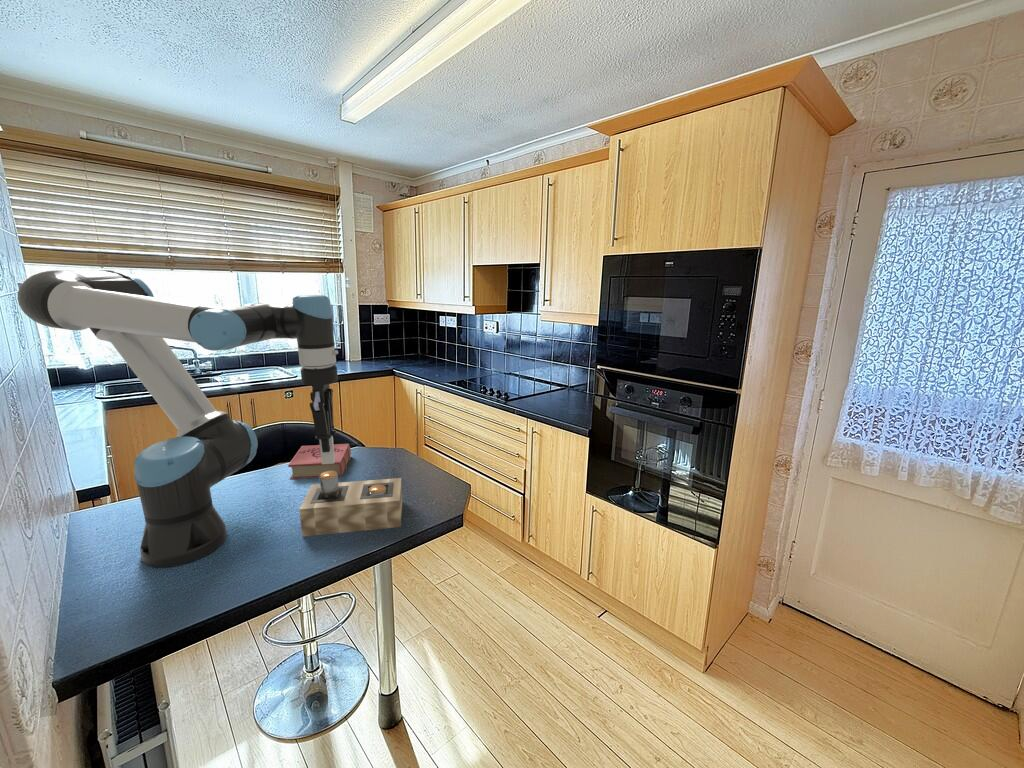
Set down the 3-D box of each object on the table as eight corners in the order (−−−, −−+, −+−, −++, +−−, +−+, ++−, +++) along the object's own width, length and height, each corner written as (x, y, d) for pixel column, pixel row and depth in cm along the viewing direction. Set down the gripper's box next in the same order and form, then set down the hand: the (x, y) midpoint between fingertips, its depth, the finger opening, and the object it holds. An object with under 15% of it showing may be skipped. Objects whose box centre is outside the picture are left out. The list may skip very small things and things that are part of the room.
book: (344, 477, 129) (343, 461, 128) (289, 480, 126) (288, 464, 125) (352, 457, 143) (351, 443, 142) (303, 460, 140) (301, 446, 139)
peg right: (369, 517, 106) (368, 492, 104) (371, 509, 110) (369, 485, 108) (386, 516, 107) (385, 491, 105) (387, 507, 110) (386, 483, 109)
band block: (302, 536, 99) (299, 508, 97) (314, 509, 111) (311, 484, 109) (400, 526, 104) (399, 500, 102) (402, 501, 115) (401, 477, 113)
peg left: (320, 504, 102) (317, 478, 101) (323, 496, 106) (321, 471, 104) (338, 503, 103) (335, 477, 102) (340, 495, 107) (338, 470, 105)
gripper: (331, 370, 91) (340, 473, 97) (341, 359, 103) (349, 450, 109) (292, 372, 90) (304, 476, 95) (307, 360, 102) (317, 453, 108)
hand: (328, 462), depth 102 cm, fingers closed
